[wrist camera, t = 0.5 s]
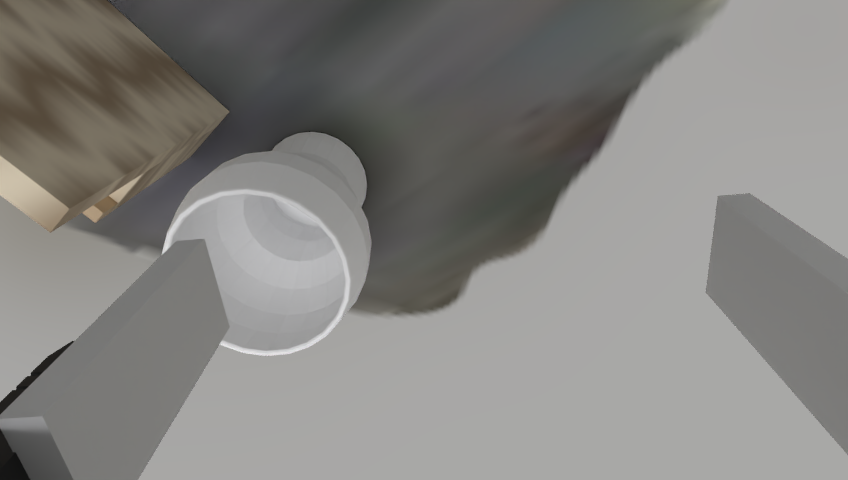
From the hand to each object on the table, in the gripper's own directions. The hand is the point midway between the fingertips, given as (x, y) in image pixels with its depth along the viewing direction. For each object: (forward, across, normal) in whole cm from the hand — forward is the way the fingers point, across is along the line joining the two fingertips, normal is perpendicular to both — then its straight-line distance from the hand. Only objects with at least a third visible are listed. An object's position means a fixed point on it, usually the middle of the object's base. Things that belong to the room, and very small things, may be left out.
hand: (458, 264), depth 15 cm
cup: (+27, -10, -6) cm, 29 cm away
